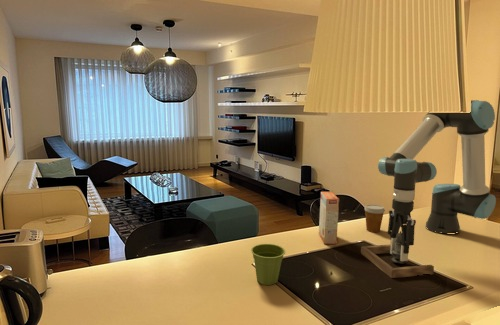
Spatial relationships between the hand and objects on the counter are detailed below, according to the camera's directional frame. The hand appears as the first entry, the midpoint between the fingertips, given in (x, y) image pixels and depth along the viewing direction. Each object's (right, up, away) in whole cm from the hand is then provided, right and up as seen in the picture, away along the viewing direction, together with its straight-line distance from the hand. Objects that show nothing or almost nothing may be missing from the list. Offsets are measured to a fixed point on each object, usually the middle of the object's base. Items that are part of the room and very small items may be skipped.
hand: (398, 257), depth 141 cm
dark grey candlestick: (0, -2, 0) cm, 2 cm away
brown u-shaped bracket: (-1, -2, 0) cm, 3 cm away
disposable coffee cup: (+3, +3, +37) cm, 37 cm away
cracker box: (-22, +2, +25) cm, 34 cm away
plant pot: (-52, -5, -15) cm, 54 cm away
